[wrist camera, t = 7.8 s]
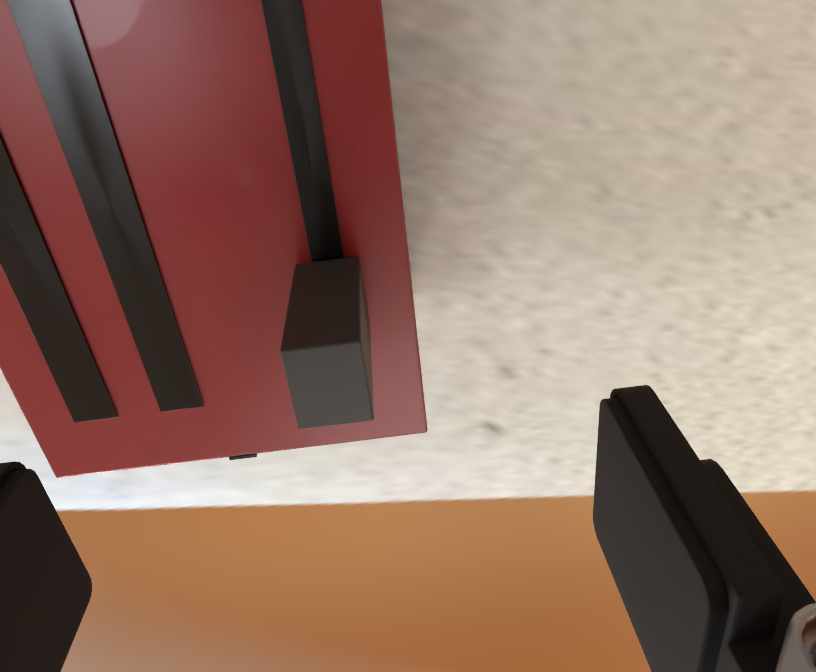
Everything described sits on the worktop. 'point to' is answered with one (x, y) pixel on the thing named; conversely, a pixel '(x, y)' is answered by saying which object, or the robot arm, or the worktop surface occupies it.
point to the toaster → (192, 221)
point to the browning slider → (328, 344)
